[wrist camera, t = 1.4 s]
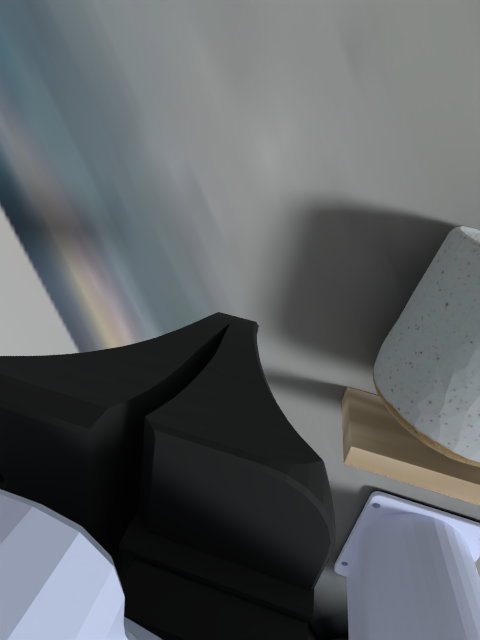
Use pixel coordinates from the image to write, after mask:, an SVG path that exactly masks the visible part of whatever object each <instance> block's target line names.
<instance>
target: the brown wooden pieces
mask: <svg viewBox="0 0 480 640" xmlns="http://www.w3.org/2000/svg"><path fill="white" fill-rule="evenodd" d="M341 406H342V430H343V453H344V464H347V465H350V466H354V467H357V468H360V469H363V470H366V471H370V472H373V473H376V474H379V475H383V476H386V477H389V478H392V479H396V480H399V481H402V482H405V483H408V484H412V485H415V486H418V487H421V488H425V489H428V490H431V491H434V492H438V493H441V494H444V495H447V496H450V497H454V498H457V499H460V500H463V501H467V502H470V503H473V504H476V505H479V506H480V467H477V466H473V465H469V464H466V463H463V462H460V461H457V460H454V459H451V458H449V457H447V456H445V455H443V454H441V453H439V452H438V451H436V450H434V449H432V448H430V447H428V446H427V445H425V444H424V443H423V442H421V441H420V440H419V439H417V438H416V437H415V436H414V435H412V434H411V433H410V432H409V431H408V430H406V429H405V428H404V427H403V426H402V425H401V424H400V423H399V422H398V421H397V420H396V419H395V418H394V417H393V416H392V414H391V413H390V412H389V411H388V409H387V408H386V407H385V405H384V404H383V402H382V400H381V398H380V397H379V396H378V395H374V394H371V393H367V392H363V391H360V390H356V389H353V388H349V387H347V389H346V391H345V394H344V397H343V399H342V402H341Z"/></svg>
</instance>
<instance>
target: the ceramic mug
mask: <svg viewBox="0 0 480 640" xmlns="http://www.w3.org/2000/svg"><path fill="white" fill-rule="evenodd" d="M373 380H374V384H375V387H376V391H377V393H378V395H379V397H380V398H381V400H382V402H383V404H384V405H385V407H386V408H387V409H388V411H389V412H390V413H391V414H392V416H393V417H394V418H395V419H396V420H397V421H398V422H399V423H400V424H401V425H402V426H403V427H404V428H405V429H406V430H408V431H409V432H410V433H411V434H412V435H414V436H415V437H416V438H417V439H419V440H420V441H421V442H423V443H424V444H425V445H427V446H428V447H430V448H432V449H434V450H436V451H438V452H439V453H441V454H443V455H445V456H447V457H449V458H451V459H454V460H457V461H460V462H463V463H466V464H469V465H473V466H477V467H480V231H479V230H477V229H473V228H469V227H465V226H459V227H455V228H454V229H452V230H451V231H450V232H449V234H448V235H447V237H446V239H445V240H444V242H443V244H442V245H441V247H440V249H439V250H438V252H437V254H436V255H435V257H434V259H433V260H432V262H431V264H430V266H429V267H428V269H427V271H426V272H425V274H424V276H423V277H422V279H421V281H420V282H419V284H418V286H417V287H416V289H415V291H414V292H413V294H412V296H411V297H410V299H409V301H408V303H407V305H406V306H405V308H404V310H403V312H402V313H401V315H400V317H399V319H398V320H397V322H396V323H395V325H394V326H393V328H392V329H391V331H390V332H389V334H388V336H387V337H386V339H385V340H384V342H383V344H382V346H381V348H380V351H379V354H378V356H377V359H376V362H375V364H374V370H373Z"/></svg>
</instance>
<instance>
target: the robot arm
mask: <svg viewBox="0 0 480 640" xmlns="http://www.w3.org/2000/svg"><path fill="white" fill-rule="evenodd" d="M258 327H259V326H258V324H257V323H256V322H254V321H250V320H247V319H243V318H239V317H235V316H231V315H228V314H224V313H220V312H218V313H215V314H213V315H210V316H208V317H206V318H204V319H202V320H199V321H197V322H195V323H193V324H190V325H188V326H186V327H183V328H181V329H178V330H176V331H173V332H170V333H167V334H165V335H162V336H159V337H156V338H153V339H150V340H146V341H143V342H139V343H135V344H131V345H127V346H122V347H116V348H110V349H104V350H98V351H92V352H85V353H75V354H65V355H49V356H0V640H308V622H310V621H311V619H312V615H313V606H314V587H315V585H316V583H317V581H318V579H319V577H320V575H321V573H322V571H323V569H324V567H325V565H326V563H327V561H328V559H329V557H330V555H331V553H332V549H333V545H334V541H335V519H334V510H333V503H332V497H331V491H330V486H329V481H328V477H327V472H326V468H325V465H324V462H323V460H322V459H321V458H320V457H319V456H318V455H317V453H316V452H315V451H314V450H313V449H312V448H311V447H310V446H309V445H308V444H307V443H306V442H305V441H304V440H303V439H302V438H301V437H300V435H299V434H298V433H297V432H296V431H295V429H294V428H293V427H292V425H291V424H290V423H289V421H288V420H287V418H286V417H285V415H284V414H283V412H282V411H281V409H280V407H279V406H278V404H277V402H276V400H275V398H274V396H273V394H272V392H271V390H270V388H269V386H268V383H267V381H266V378H265V375H264V373H263V369H262V366H261V362H260V358H259V353H258V347H257V332H258ZM479 557H480V523H478V522H475V521H472V520H469V519H466V518H462V517H459V516H456V515H453V514H450V513H447V512H443V511H440V510H437V509H434V508H431V507H428V506H424V505H421V504H418V503H415V502H412V501H409V500H405V499H402V498H399V497H396V496H393V495H390V494H386V493H383V492H380V491H375V492H373V493H372V494H371V495H370V497H369V499H368V501H367V503H366V505H365V507H364V508H363V510H362V512H361V514H360V516H359V518H358V520H357V522H356V524H355V526H354V528H353V530H352V532H351V534H350V536H349V537H348V539H347V541H346V543H345V545H344V547H343V549H342V551H341V553H340V555H339V557H338V559H337V561H336V563H335V565H334V570H335V572H336V573H338V574H340V575H343V576H345V577H347V601H348V628H349V640H480V577H479V574H478V571H477V568H476V566H475V562H476V560H477V559H478V558H479Z"/></svg>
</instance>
